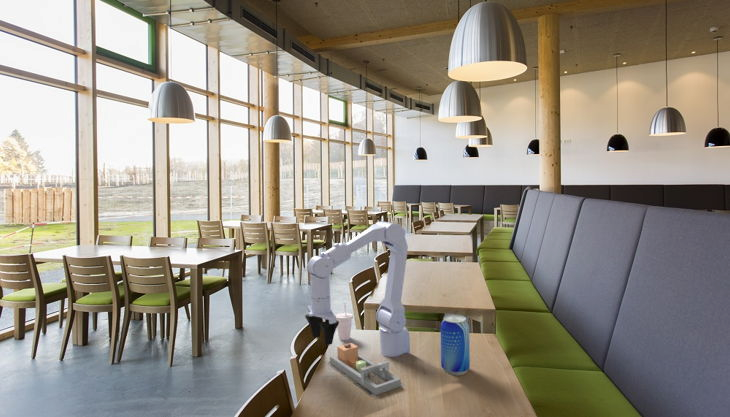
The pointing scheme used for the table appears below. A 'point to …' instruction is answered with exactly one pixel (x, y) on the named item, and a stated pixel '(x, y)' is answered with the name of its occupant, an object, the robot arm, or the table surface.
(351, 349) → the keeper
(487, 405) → the table surface
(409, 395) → the table surface
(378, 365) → the gate
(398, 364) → the table surface
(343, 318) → the smoothie
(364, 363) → the pale green cube
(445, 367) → the beer can
